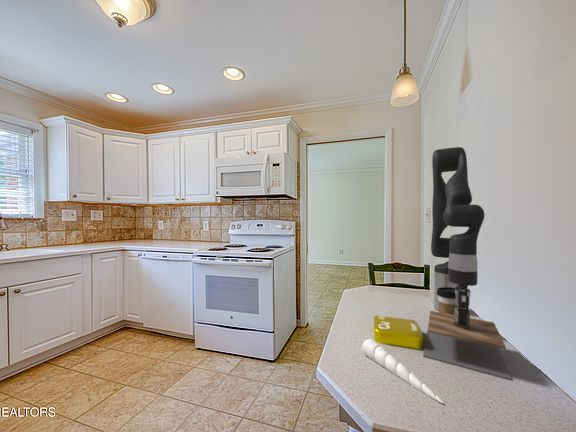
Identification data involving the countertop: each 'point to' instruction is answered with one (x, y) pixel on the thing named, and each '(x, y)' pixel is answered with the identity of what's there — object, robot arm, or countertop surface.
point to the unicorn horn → (395, 367)
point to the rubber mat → (465, 354)
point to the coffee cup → (446, 300)
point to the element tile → (397, 332)
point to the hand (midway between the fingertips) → (461, 322)
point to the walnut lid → (465, 329)
